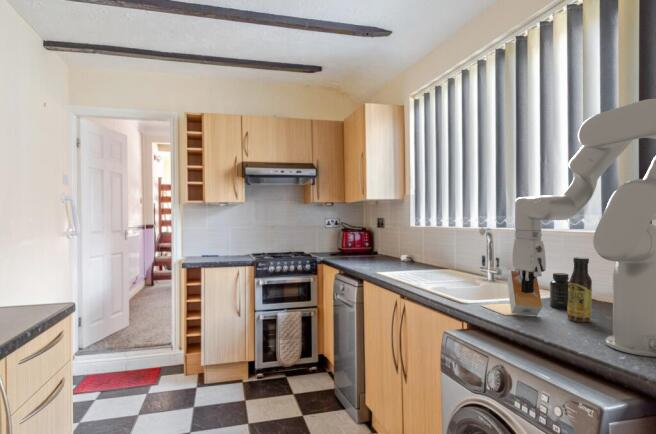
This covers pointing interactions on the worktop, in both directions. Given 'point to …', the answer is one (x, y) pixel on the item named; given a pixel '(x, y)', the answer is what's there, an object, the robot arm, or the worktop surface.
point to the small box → (523, 296)
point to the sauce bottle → (580, 291)
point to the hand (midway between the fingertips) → (527, 292)
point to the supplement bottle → (559, 291)
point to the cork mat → (500, 309)
